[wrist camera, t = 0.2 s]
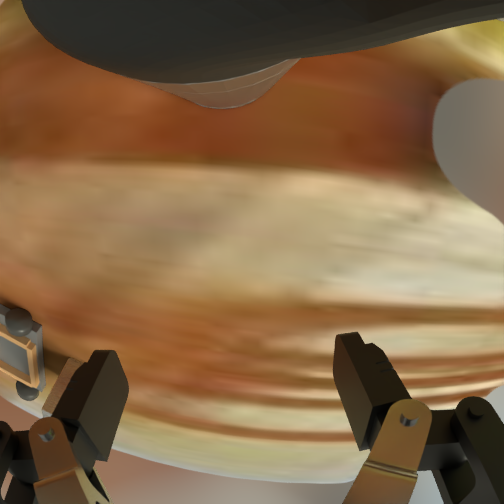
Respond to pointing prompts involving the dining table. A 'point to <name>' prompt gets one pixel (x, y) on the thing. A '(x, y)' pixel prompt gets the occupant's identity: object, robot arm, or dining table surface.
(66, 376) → the block
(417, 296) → the dining table surface
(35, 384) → the chassis
